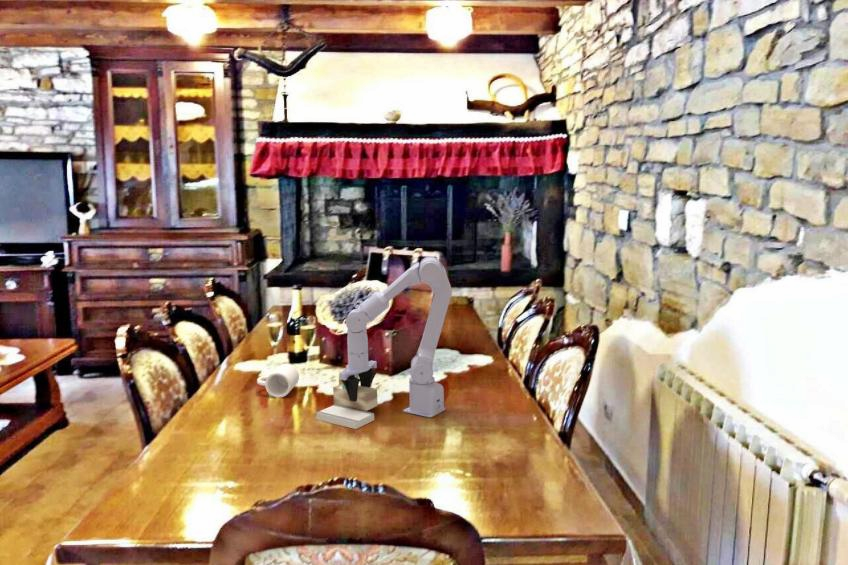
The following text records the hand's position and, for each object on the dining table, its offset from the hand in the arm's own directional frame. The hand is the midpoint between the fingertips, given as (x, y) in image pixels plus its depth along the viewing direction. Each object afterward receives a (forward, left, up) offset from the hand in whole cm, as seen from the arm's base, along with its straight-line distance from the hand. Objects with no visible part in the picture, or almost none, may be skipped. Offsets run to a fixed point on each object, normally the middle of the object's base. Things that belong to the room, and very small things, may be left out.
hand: (359, 398), depth 203 cm
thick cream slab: (+1, 0, -2) cm, 3 cm away
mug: (+33, 0, -4) cm, 33 cm away
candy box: (+12, -10, -4) cm, 16 cm away
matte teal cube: (+3, +1, +3) cm, 4 cm away
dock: (-1, +8, -4) cm, 9 cm away
